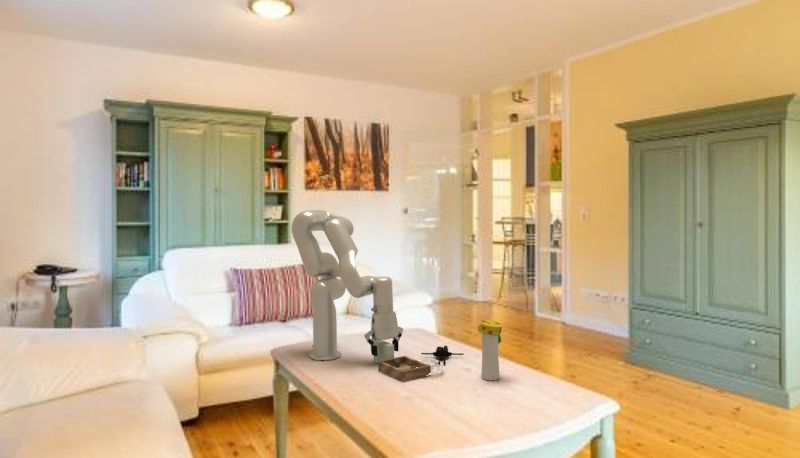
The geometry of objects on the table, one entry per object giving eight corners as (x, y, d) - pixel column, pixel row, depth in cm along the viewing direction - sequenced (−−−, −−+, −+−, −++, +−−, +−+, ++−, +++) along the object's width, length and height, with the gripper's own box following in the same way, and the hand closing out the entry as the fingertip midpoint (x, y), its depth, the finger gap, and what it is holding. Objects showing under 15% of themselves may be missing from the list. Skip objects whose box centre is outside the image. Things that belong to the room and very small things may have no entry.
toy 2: (505, 375, 185) (505, 319, 184) (499, 383, 177) (498, 324, 176) (483, 372, 188) (482, 317, 187) (476, 380, 180) (475, 322, 179)
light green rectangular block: (373, 360, 205) (373, 340, 205) (380, 359, 207) (380, 339, 207) (387, 367, 197) (387, 346, 197) (395, 365, 199) (394, 344, 199)
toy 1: (464, 368, 197) (463, 354, 212) (464, 356, 196) (463, 343, 211) (419, 368, 199) (421, 354, 213) (419, 356, 198) (421, 343, 213)
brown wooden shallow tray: (378, 370, 192) (378, 361, 192) (404, 364, 199) (404, 355, 199) (403, 382, 179) (403, 372, 179) (430, 375, 186) (430, 365, 186)
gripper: (369, 313, 193) (371, 359, 194) (407, 307, 203) (408, 350, 204) (359, 310, 199) (360, 355, 200) (396, 305, 209) (398, 347, 210)
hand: (385, 353), depth 202 cm, fingers open, 9 cm apart
